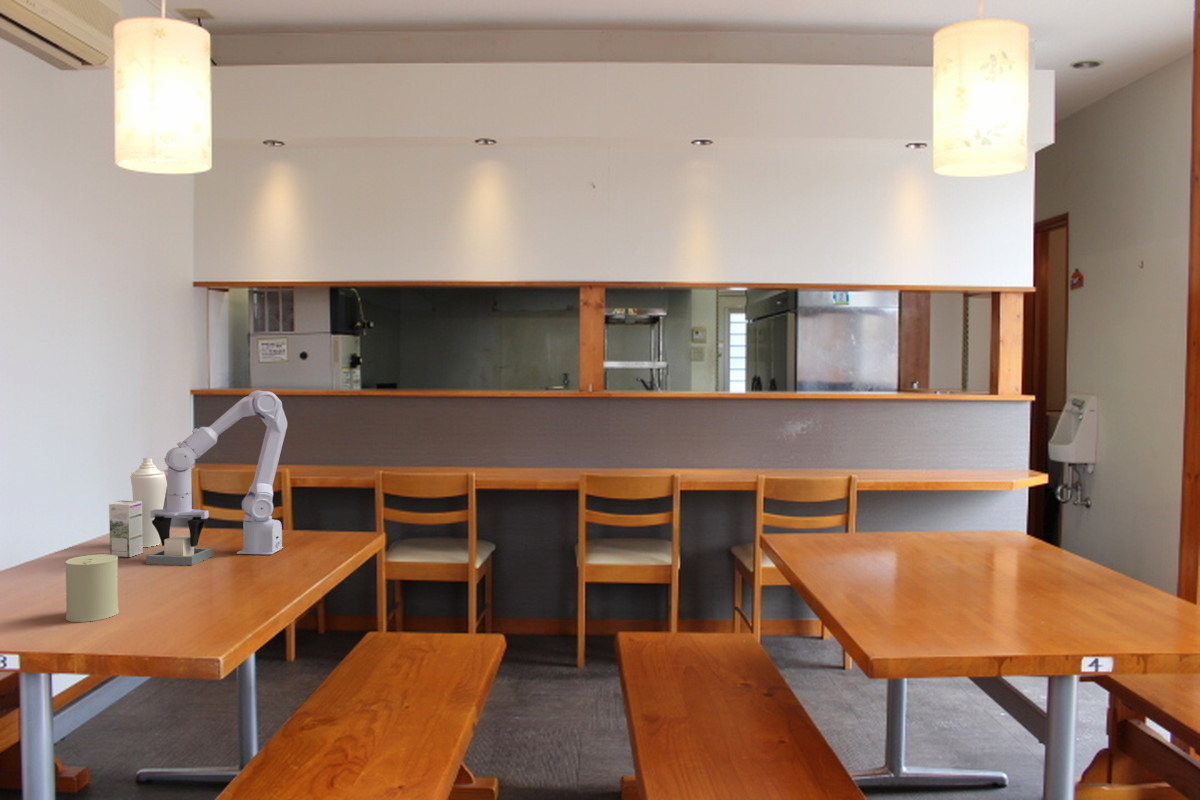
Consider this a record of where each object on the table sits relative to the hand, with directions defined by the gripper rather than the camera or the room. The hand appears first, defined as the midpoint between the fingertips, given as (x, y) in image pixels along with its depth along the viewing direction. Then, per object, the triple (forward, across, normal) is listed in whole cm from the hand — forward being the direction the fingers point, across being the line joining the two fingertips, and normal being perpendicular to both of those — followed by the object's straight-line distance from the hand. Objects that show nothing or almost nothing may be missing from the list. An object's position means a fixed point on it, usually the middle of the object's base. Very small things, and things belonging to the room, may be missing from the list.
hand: (179, 545), depth 214 cm
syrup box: (+4, -17, +4) cm, 18 cm away
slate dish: (+4, 0, 0) cm, 4 cm away
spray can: (+4, -19, +16) cm, 25 cm away
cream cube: (+3, 0, 0) cm, 3 cm away
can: (+4, +9, -47) cm, 48 cm away
